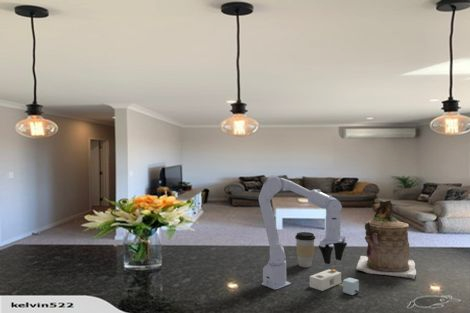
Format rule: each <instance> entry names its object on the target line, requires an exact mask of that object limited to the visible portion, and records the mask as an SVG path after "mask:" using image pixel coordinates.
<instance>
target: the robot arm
mask: <svg viewBox="0 0 470 313" xmlns="http://www.w3.org/2000/svg"><path fill="white" fill-rule="evenodd" d="M280 191H282V192H283V191H291V192H293V193H295V194H298V195H300V196H302V197H305V198H307V201H308V203H310V204H312V205H315V206H317V207H318V208H321V209H324V210H325V238H324V239H322V240H320V241H319V244H318V248H319V250H320V253H321V254H322V258H323V261H324V264H326V265H330V264H331V258H332V254H333V249H334V256H335V259H336V260H337V261H342V259H343V258H342V257H343V254H344V251H345V249H346V247H347V244H348V243H347V242H346V236H344V235H341V211H342V209H343V206H342V203H341V201H340V200H339V199H337V198H335V197H334V196H332V195H331V194H327V193H324V192H322V191H321V189H319V188H317V189H315V188H314V189H312V190H310V189H308V188H306V187H303V186H301V185H299V184H297V183H295V182H294V181H292V180H290V179H286V178H282V177H279V176H277V175H270V176H268V177H267V178H266V179H265V181H264V182H263V185H262V187H261V190H260V191H259V192H260V193H259V195H258V203H259V207H260V211H261V215H262V219H263V224H264V226H265V227H264V228H265V232H266V237H267V241H268V245H269V250H268V251H269V260H268V263H267V264H266V265H265V266H263V268H262V283H261V285H262V286H264V287H267V288H270V289H272V290H278V289H279V290H280V289H282V288H284V287H287V286H290V285H291V284H292V282H289V281H287V260H286V258H287V257H286V255H287V254H286V253H285V248H284V246H283V245H282V243H281V241H280V237H279V233H278V228H277V224H276V221H275V216H274V211H273V208H272V203H271V201H272V199H273V197H274V196H275V195H276V194H277V193H279V192H280ZM331 245H333V247H331Z"/></svg>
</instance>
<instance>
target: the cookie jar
mask: <svg viewBox="0 0 470 313" xmlns="http://www.w3.org/2000/svg"><path fill="white" fill-rule="evenodd" d="M394 204H395V203H394V202H392V201H391V199H388V200H380V201H379V203H375V204H373V205H372V211H373V212H374V217H373V218H371V219H370V220H368V221H366V222H365V224H364V230H365V237H364V240H365V241H366V244H367V248H366V255H360V256H359V260H358V261H357V262H358V263H357V264H356V267H355V268H356V269H355V270H356V271H362V272H364V273H366V274H371V275H373V274H374V275H384V276H394V277H402V278H408V279H413V280H415V277H416V275H417V270H416V263H415V260H413V259H410V258H411V256H410V253H411V252H410V243H409V233H408V229H409V227H410V225H409V223H407V222H402V221H399V220H398V219H397V218H395V217H394V216H393V213H392V209H393V208H392V207H393V206H394Z"/></svg>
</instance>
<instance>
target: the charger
mask: <svg viewBox="0 0 470 313" xmlns="http://www.w3.org/2000/svg"><path fill="white" fill-rule="evenodd" d="M338 286H341V287H342V293H345V294H348V295H351V296H354V295H356V294H361V295H364V291H363V292H362V291H360V280H359V279H356V278H352V277H348V278H344V279H343V281H342V282H341V283H340V284H338Z"/></svg>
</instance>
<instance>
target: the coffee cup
mask: <svg viewBox="0 0 470 313" xmlns="http://www.w3.org/2000/svg"><path fill="white" fill-rule="evenodd" d="M294 238H295V241H296V244H295V245H296V254H297V259H298V265H299V267H302V268H310V267H313V266H312V265H313V264H312V263H313V257H314V248H315V240H316V236H315V235H314V233H313V232H306V231H304V232H303V231H301V232H297V233H296V235H295V237H294Z"/></svg>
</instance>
